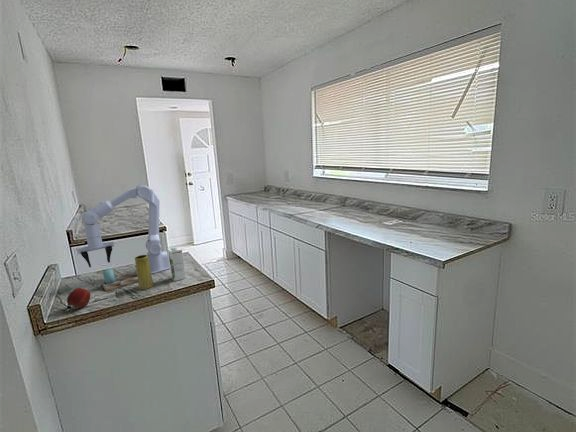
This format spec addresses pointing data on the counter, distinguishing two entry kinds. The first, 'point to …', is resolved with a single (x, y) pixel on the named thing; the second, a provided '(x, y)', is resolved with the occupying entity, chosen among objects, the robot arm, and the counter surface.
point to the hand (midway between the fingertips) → (99, 264)
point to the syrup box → (176, 263)
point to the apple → (79, 298)
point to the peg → (109, 276)
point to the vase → (143, 272)
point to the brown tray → (121, 281)
